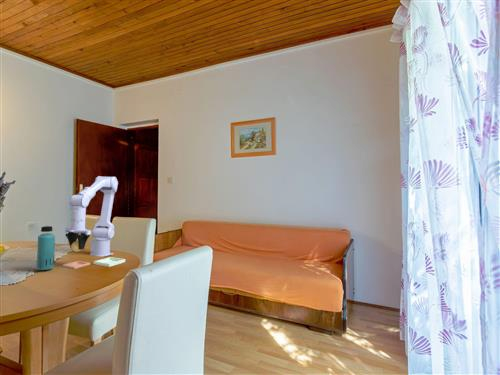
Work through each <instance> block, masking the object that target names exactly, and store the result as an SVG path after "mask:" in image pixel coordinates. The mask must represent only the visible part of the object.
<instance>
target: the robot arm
mask: <svg viewBox="0 0 500 375" xmlns="http://www.w3.org/2000/svg"><path fill="white" fill-rule="evenodd" d="M118 185H119V181H118V179H117V177H116V176H100V175H98V176H97V177H95V180H94V181H93V183H92V184H91V185H90V186H85V187H84V188H83V189H82V190H81V191H80V192H78V193H77V194H74V195H72V196H70V198H69V200H68V205H69V207H70V211H71V215H70V216H71V219H70V221H71V222H70V227H65V229H64V232H65V237H66V239H67V240H68V243H69V247H70V249H71V245H72V243H73V242H75V241H78V244H79V250H80V251H82V250H84V249H85V246H86V243H87V242H88V239H89V237H90V236H92V237H93V238H94V239H93V240H92V241H91V243H90V254H89V255H90V256H96V257H101V258H102V257H103V258H104V257H105V256H107V257H109V256H111V255H114V253H113V252H111V240H112V239H113V237H114V236H115V225H114V224H113V223H112V222H111V217H112V210H113V204H114V198H115V193H116V192H117V190H118ZM99 190H100V192H102V193H103V200H102V206H101V212H100V218H99V221H98V222H96V223H95V224H94V227H93V229H92V230H91V229H87V228H86V216H87V215H86V212H87V207H88V206H89V204H90V202H91V200H92V199H93V198H94V197H95V196H96V192H98V191H99ZM81 249H82V250H81Z"/></svg>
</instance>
